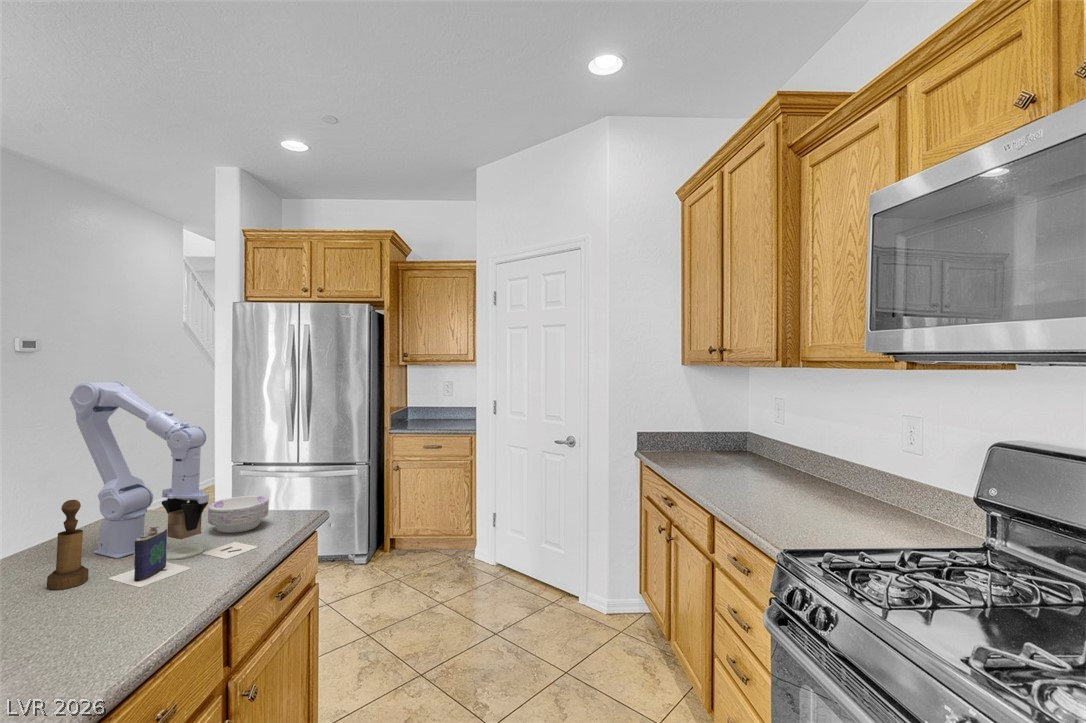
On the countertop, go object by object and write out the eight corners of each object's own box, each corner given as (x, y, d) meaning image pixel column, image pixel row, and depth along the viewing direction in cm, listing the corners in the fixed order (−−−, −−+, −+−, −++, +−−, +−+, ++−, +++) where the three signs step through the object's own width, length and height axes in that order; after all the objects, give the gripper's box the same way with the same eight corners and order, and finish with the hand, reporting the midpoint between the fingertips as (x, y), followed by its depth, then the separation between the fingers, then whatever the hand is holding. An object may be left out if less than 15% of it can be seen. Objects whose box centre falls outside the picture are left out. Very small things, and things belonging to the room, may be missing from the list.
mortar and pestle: (95, 580, 108) (98, 498, 108) (58, 592, 101) (62, 505, 102) (76, 575, 110) (80, 495, 110) (39, 587, 104) (42, 502, 104)
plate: (152, 556, 121) (152, 554, 121) (189, 544, 130) (189, 542, 130) (176, 562, 118) (176, 559, 118) (212, 549, 127) (212, 547, 127)
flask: (157, 565, 116) (159, 519, 116) (170, 564, 116) (172, 519, 116) (130, 582, 107) (132, 533, 107) (144, 581, 107) (146, 532, 107)
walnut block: (167, 536, 123) (168, 512, 123) (187, 530, 127) (188, 507, 127) (180, 539, 121) (181, 515, 121) (200, 533, 125) (201, 510, 126)
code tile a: (107, 578, 108) (107, 578, 108) (161, 561, 119) (161, 560, 119) (139, 587, 104) (139, 587, 104) (192, 568, 115) (192, 567, 115)
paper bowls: (204, 526, 144) (205, 499, 145) (262, 517, 154) (263, 492, 154) (210, 541, 133) (211, 511, 133) (272, 530, 142) (273, 503, 143)
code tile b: (201, 553, 124) (201, 553, 124) (234, 542, 132) (234, 541, 132) (226, 559, 121) (226, 558, 121) (258, 547, 129) (258, 546, 129)
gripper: (150, 475, 123) (148, 529, 123) (189, 480, 118) (187, 537, 118) (179, 470, 130) (177, 521, 129) (217, 475, 125) (215, 528, 124)
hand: (184, 528), depth 124 cm, fingers closed on walnut block, 5 cm apart
